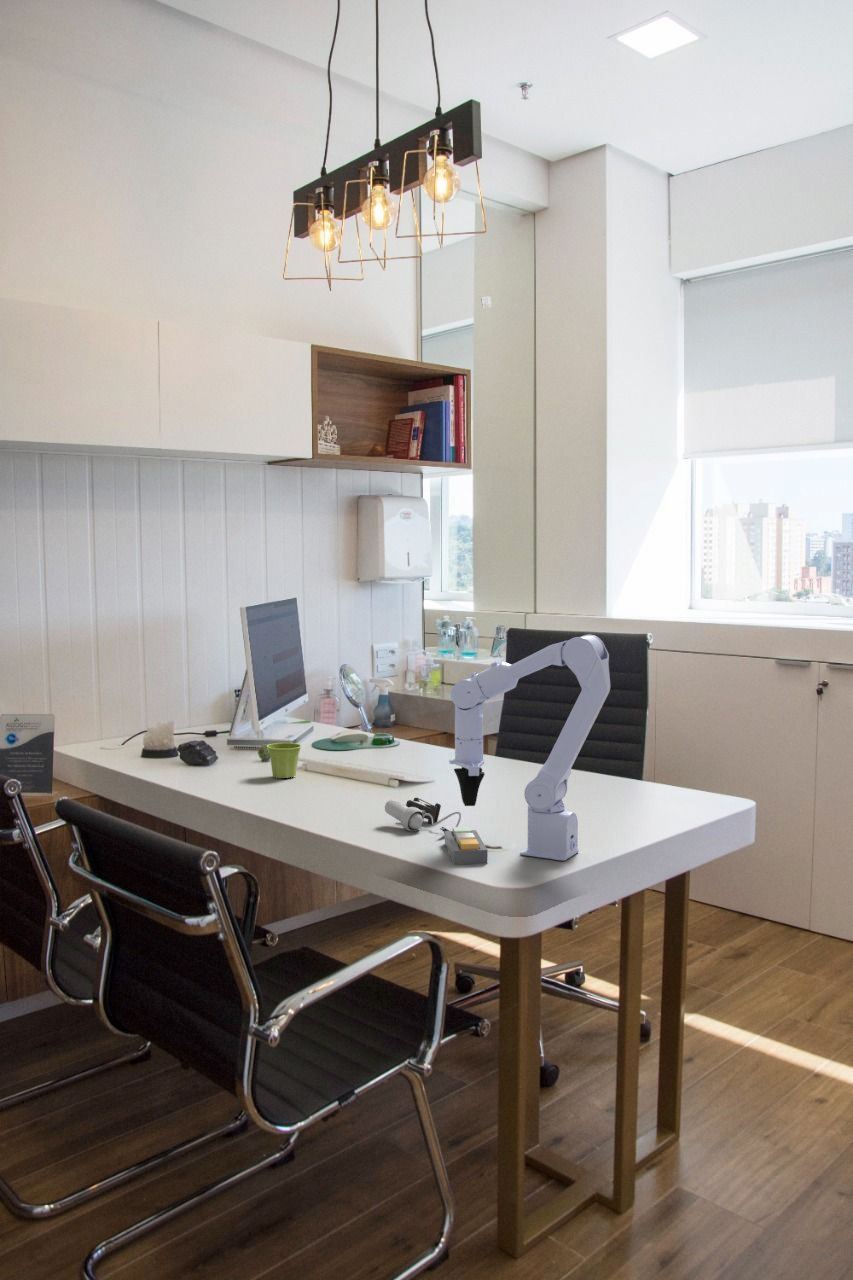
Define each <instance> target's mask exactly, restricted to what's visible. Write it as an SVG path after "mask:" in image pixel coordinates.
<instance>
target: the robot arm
mask: <svg viewBox="0 0 853 1280" xmlns="http://www.w3.org/2000/svg"><path fill="white" fill-rule="evenodd" d="M609 660H610V654H609V652H608V650H607V648H606V646H605V644H604V642H603V640H601V638H599V637H598V636H596V635H594V634H584V635H581V636H579V637H578V636H576V637H573V638H569V640H564V641H561V642H558V643H553V644H550V645H548V646H546V647H544V648H542V649H540V650H538V651H536V652H534V653H532V654H530V655H528V656H526V657H525V658H522V659H521V660H518V661H517V662H515V663H512V664H511V663H508V662H506V661H501V662H499V661H495V662H492V663H490V666H491V667H488V668H486V669H484V670H483V671H480V672H472V673H470V677H469V678H467V679H465V678H464V679H460V680H458V682H455V684H454V685H453V686H452V688H451V691H450V699H451V701H452V703H453V704H454V758H450V759H449V760H448V763H449V764H450V765H456V766H458V768H453V771H454V773H455V775H456V778H457V781H458V783H459V790H460V795H461V799H462V803H463V805H464V807H475V805H476V803H477V799H478V793H479V788H480V786H481V783H482V780H483V779H484V777H485V772H484V771H483V768H482V766H483V765H484V764H485V759H484V703H485V701H489V700H491V699H494V698H496V697H497V696H500V695H503V694H504V693H507V692H509V691H511V690H513V689H515V688H516V687H517V684H518V682H519V680H520V679H522V678H523V677H525V676H528V675H531V674H532V673H536V672H537V671H540V670H542V669H544V668H547V667H549V666H551V665H553V666H558V667H564V666H567V667H568V669H570V671H572V673H573V674H574V675H575V677H576V679H577V681H578V683H579V686H580V687H581V688H580V689H581V691H580V693H579V695H578V697H577V699H576V701H575V703H574V705H573V707H572V708H571V711H570V713H569V714H568V715H569V716H568V717H567V719H566V722H565V723H564V726H562V729H561V731H560V733H559V735H558V738H557V739H556V742H555V743H554V745H553V747H552V750H551V751H550V754H549V756H548V757H547V760H546V761H545V763H544V764H543V765H542V767H541V768H540V770H539V771H538V773H537V775H536V777H534V779H532V780H531V781H528V784H527V785H526V787H525V789H524V799H525V802H526V803H527V848H525V849H523V850H521V851H519V855H520V856H528V857H532V858H533V857H534V858H540V859H541V858H542V859H548V860H555V861H566V860H568V859H569V858H571V857H572V856H575V854H577V853H579V851H580V849H578V846H579V844H578V843H579V842H578V840H579V839H578V835H579V833H578V832H579V831H578V830H579V829H578V827H579V825H578V824H579V823H578V822H579V821H578V816H577V814H576V813H575V812H573V811H569V810H567V809H566V808H565V806H566V805H565V803H564V801H563V799H564V798H565V797H566V795H567V793H568V780H569V777H570V775H571V772H572V768H573V765H574V763H575V761H576V759H577V757H578V756H579V753H580V751H581V749H582V747H583V745H584V743H585V741H586V739H587V738H588V736H589V733H590V731H591V729H592V727H593V725H594V724H595V721H596V720H597V718H598V715H599V714H600V711H601V709H602V708H603V705H604V703H605V701H606V699H607V697H608V695H609V694H610V692H611V691H610V690H611V679H610V677H611V676H610V666H609V665H610V664H609ZM459 767H461V768H459Z"/></svg>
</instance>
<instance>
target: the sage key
mask: <svg viewBox="0 0 853 1280" xmlns="http://www.w3.org/2000/svg"><path fill="white" fill-rule="evenodd" d="M471 830H472V828H471V827H470V826H458V827H456V826H452V831H453V837H456V833H472V831H471Z"/></svg>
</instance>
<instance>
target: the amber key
mask: <svg viewBox="0 0 853 1280" xmlns="http://www.w3.org/2000/svg"><path fill="white" fill-rule="evenodd" d="M459 849H460V850H470V849H479V843H478V841H477V839H465V840H459Z"/></svg>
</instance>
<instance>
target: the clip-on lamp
mask: <svg viewBox="0 0 853 1280" xmlns="http://www.w3.org/2000/svg"><path fill="white" fill-rule="evenodd" d="M441 807H442V805H441V804H439V803H435V804H431V803H429V802H428V801H425V800H424V799H421V798H420V797H414V798H413V800H411V799H409V800H407V801H406V804H403V803H401V802H400V801H398V800H396V799H394V798H392V799H389V800H387V802H386V803H385V805H384V811H385V813H386V814H387V815H389V816H391V817H392V818H394V819H395V820H397V821H399V822H400V824H401V826H402V828H403V829H405V830H406V831H408V832H416V831H418V830H419V829H420V828H421V827H422V825H423V823H424V819H426V820H427V824H429V825H432V827H435V826H437V825H439V824H441V823H442V822H443V821H446V820H447V819H448V818H450V817H453V816H454V815H456V814H458V815H459V817H458V821H457V823H456V825H455V827H459V825H460V822H461V819H462V814H461V812H460V811H455V812H452V813H450V814H448V815H446V816H445V817H442V819H439V815H440V811H441ZM438 820H439V821H438ZM439 830H440V831H442V832H443V834H445V831H450V830H449V829H447V827H446V828H445V827H444V826H441V827H440V828H439Z"/></svg>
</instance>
